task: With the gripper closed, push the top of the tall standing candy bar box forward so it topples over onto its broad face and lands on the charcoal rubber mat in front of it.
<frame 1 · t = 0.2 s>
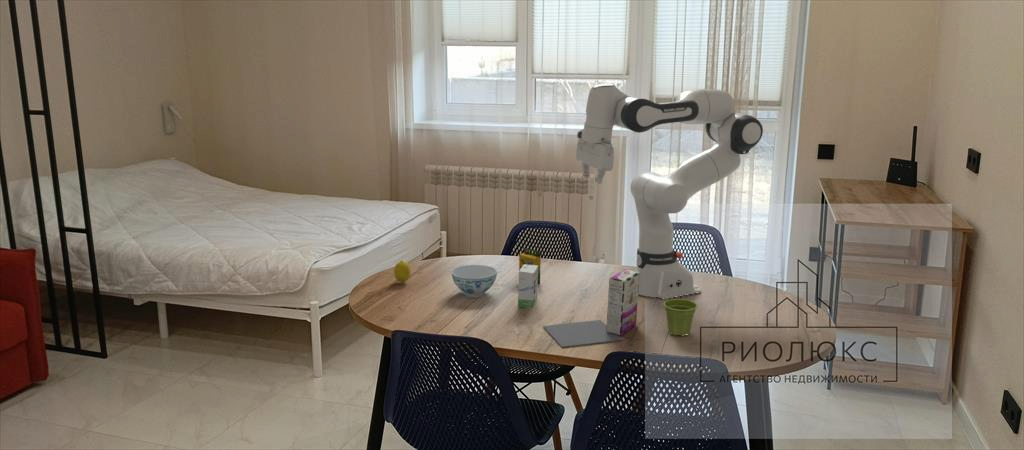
hand: (591, 180, 243), 39 cm above the table, tool pointing down, fingers open, 8 cm apart
lemon: (402, 283, 267), on the table
candy bar box: (620, 329, 225), on the table, touching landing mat
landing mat: (582, 333, 222), on the table
crayon box: (529, 283, 267), on the table
chinaware: (474, 294, 256), on the table
ink box: (527, 304, 247), on the table
plant pot: (678, 333, 223), on the table
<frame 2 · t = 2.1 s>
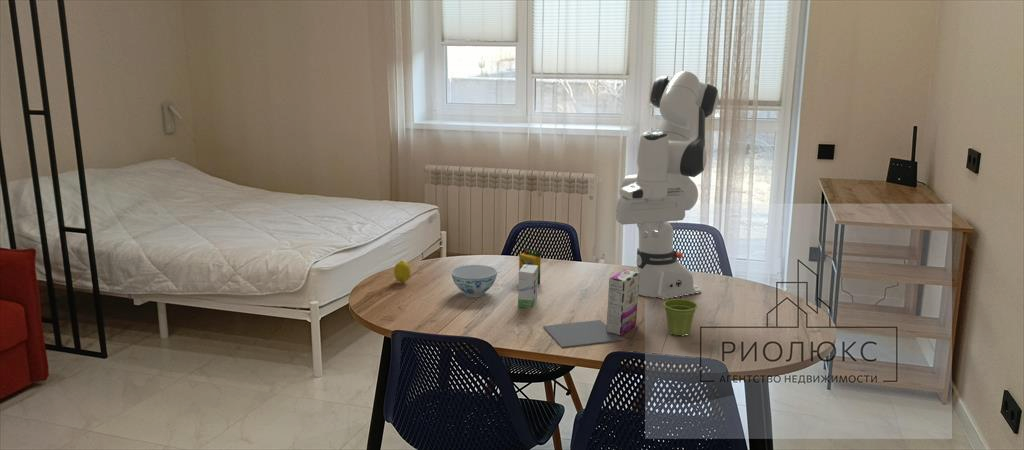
hand: (649, 237, 221), 27 cm above the table, tool pointing down, fingers closed
nothing on the table moved.
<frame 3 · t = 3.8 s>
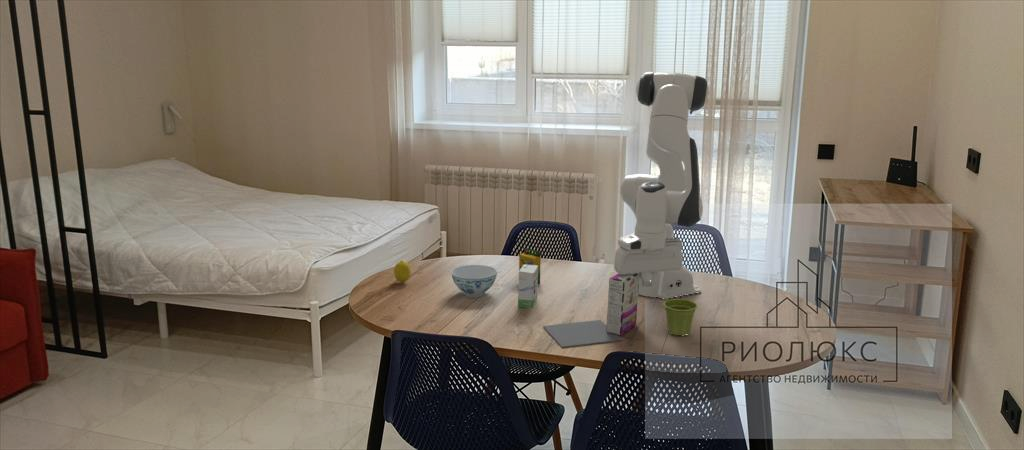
hand: (647, 286, 224), 13 cm above the table, tool pointing down, fingers closed
candy bar box: (620, 329, 225), on the table, touching gripper, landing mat
everything else where it was.
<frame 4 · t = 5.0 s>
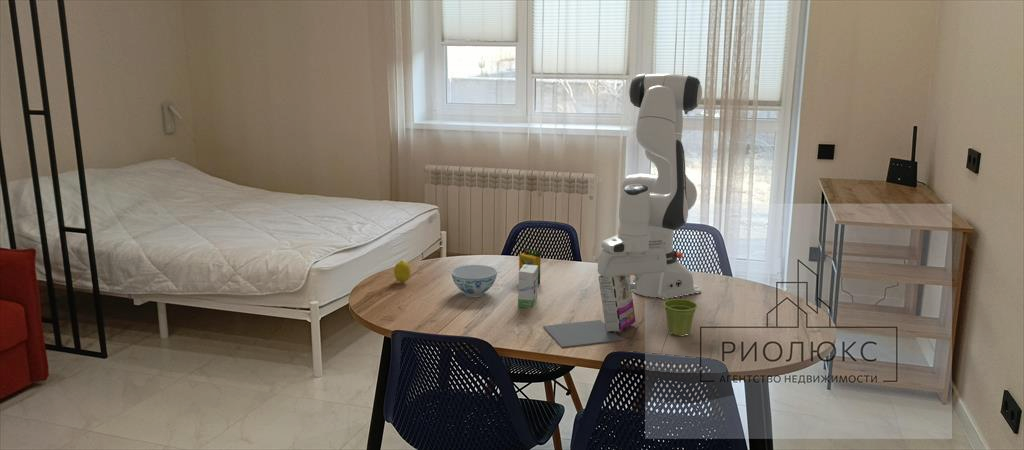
hand: (631, 288, 223), 12 cm above the table, tool pointing down, fingers closed
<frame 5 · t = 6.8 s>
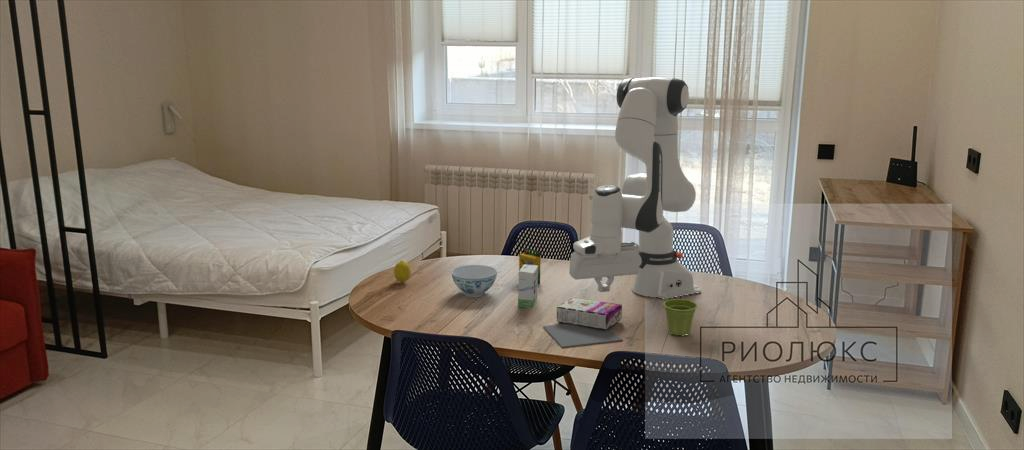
hand: (603, 291, 220), 12 cm above the table, tool pointing down, fingers closed
candy bar box: (615, 317, 225), point 3 cm above the table, touching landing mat
everything else where it was.
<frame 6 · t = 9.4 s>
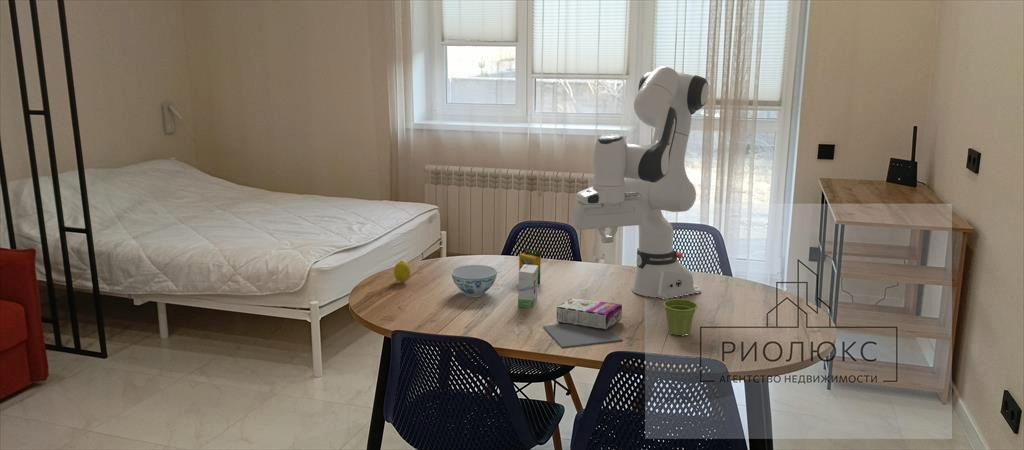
hand: (607, 242, 217), 27 cm above the table, tool pointing down, fingers closed
candy bar box: (615, 317, 225), point 3 cm above the table, touching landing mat
everything else where it was.
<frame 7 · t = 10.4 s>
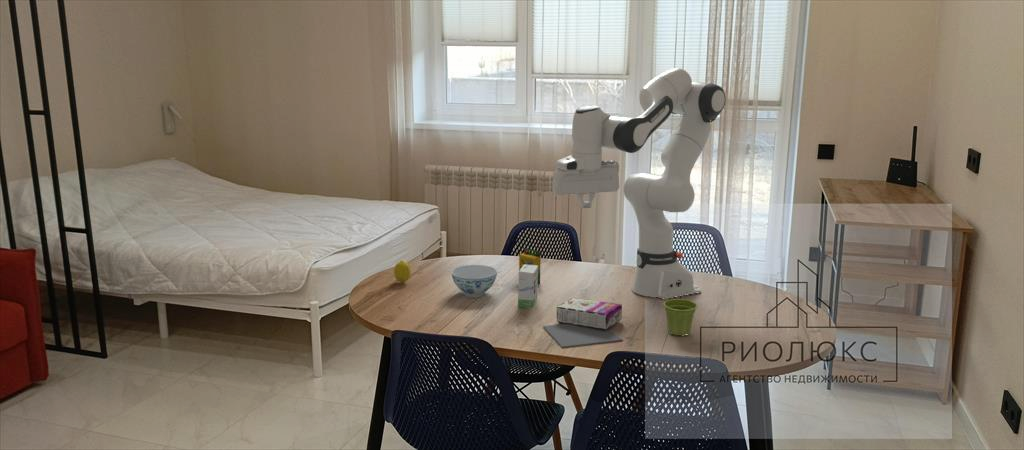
hand: (585, 207, 231), 33 cm above the table, tool pointing down, fingers closed
nothing on the table moved.
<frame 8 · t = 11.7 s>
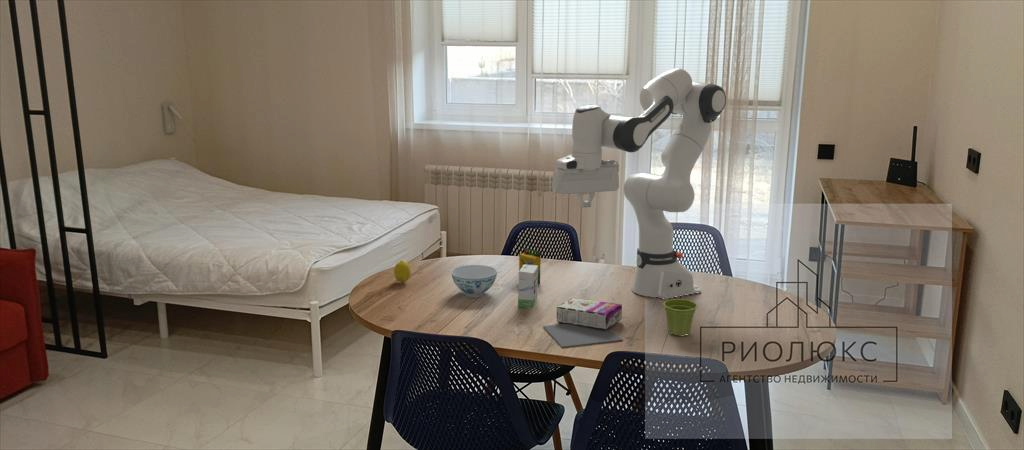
hand: (585, 206, 231), 33 cm above the table, tool pointing down, fingers closed
nothing on the table moved.
at the end: candy bar box tilted 92°; candy bar box touching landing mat, table; candy bar box moved 3.8 cm from its start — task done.
